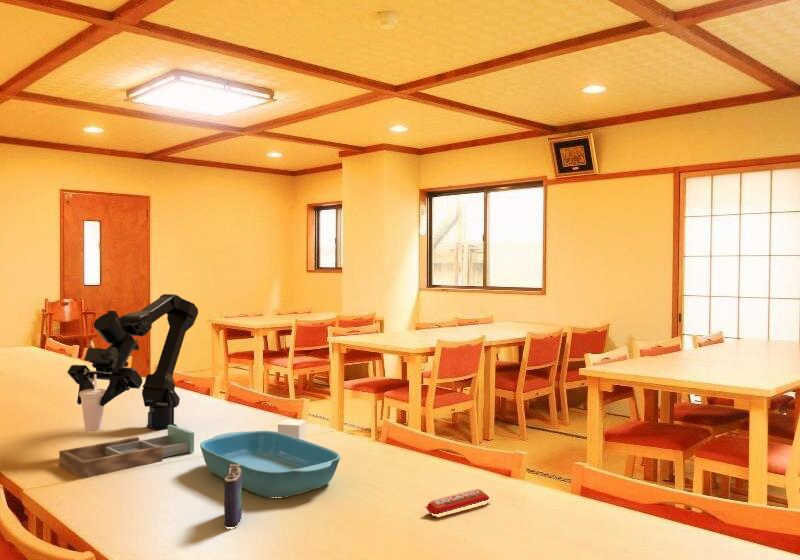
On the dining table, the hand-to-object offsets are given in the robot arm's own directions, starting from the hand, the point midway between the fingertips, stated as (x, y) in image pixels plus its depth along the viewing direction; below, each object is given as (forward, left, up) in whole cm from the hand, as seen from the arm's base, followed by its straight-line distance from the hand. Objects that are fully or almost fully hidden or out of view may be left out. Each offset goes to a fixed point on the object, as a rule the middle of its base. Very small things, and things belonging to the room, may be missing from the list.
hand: (89, 404), depth 166 cm
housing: (-1, +10, -13) cm, 16 cm away
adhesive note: (-44, +26, -13) cm, 52 cm away
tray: (-11, +10, -13) cm, 19 cm away
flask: (-2, +61, -13) cm, 62 cm away
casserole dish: (-22, +45, -13) cm, 51 cm away
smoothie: (-1, -1, -7) cm, 7 cm away
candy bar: (-37, +88, -14) cm, 96 cm away
